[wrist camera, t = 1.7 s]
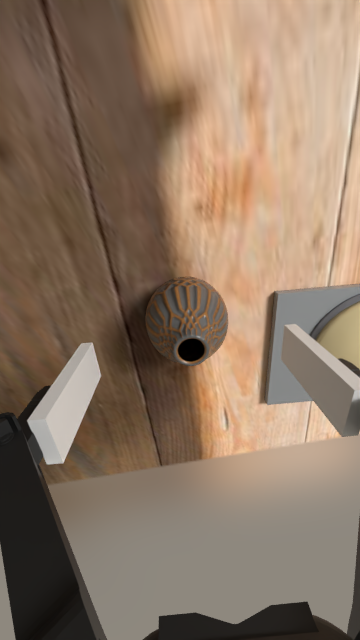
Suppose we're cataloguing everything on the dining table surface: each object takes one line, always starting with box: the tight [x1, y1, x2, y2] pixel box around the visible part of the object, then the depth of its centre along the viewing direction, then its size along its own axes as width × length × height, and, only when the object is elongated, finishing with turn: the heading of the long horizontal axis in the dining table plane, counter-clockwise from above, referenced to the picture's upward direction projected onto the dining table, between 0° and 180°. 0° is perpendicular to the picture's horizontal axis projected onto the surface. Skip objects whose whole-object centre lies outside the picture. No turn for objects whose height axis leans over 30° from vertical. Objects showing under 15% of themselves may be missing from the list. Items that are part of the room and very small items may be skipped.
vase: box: [145, 277, 228, 366], centre depth 19 cm, size 7×7×9 cm
